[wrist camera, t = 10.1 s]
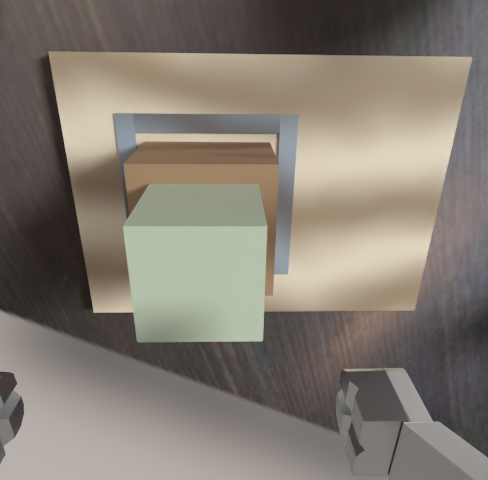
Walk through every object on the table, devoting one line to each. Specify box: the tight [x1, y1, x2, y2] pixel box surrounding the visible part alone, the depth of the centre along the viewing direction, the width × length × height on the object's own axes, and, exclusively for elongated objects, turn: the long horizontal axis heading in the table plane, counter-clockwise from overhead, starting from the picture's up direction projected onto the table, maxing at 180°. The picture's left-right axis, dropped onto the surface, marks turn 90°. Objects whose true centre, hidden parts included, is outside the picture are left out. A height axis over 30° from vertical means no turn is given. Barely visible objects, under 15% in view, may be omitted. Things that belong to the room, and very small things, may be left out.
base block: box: [123, 142, 279, 296], centre depth 22 cm, size 7×7×5 cm
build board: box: [48, 51, 472, 313], centre depth 25 cm, size 16×22×1 cm
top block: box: [123, 184, 267, 342], centre depth 17 cm, size 5×5×5 cm
